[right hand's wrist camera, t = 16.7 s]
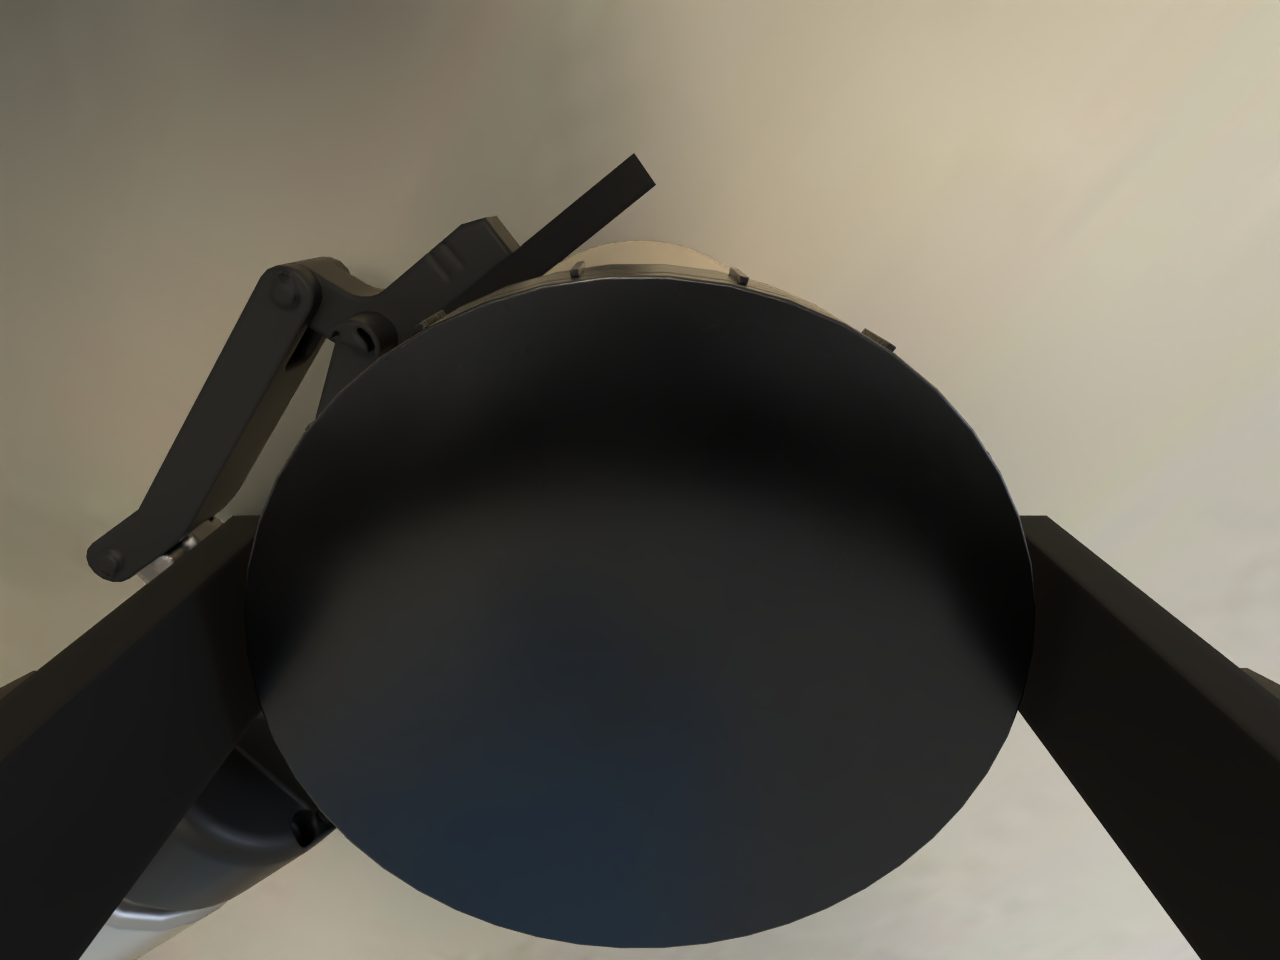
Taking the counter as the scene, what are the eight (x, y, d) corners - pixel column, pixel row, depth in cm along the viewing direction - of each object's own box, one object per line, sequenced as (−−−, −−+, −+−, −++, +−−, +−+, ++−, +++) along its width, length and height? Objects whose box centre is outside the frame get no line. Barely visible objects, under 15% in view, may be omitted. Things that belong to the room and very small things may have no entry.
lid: (247, 785, 13) (195, 862, 12) (360, 137, 9) (305, 126, 8) (816, 923, 14) (836, 1009, 13) (1122, 403, 11) (1203, 439, 9)
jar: (603, 169, 22) (544, 129, 8) (853, 366, 24) (1127, 585, 11) (432, 430, 25) (186, 709, 11) (669, 583, 27) (699, 972, 14)
